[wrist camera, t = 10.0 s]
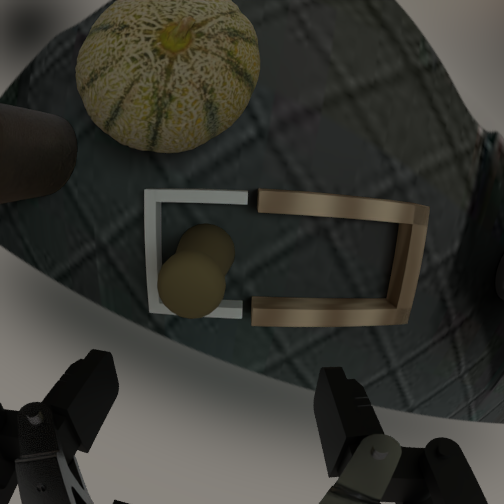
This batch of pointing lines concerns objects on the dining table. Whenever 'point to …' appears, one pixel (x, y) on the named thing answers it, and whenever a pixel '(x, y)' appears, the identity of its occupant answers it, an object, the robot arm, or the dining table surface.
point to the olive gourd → (196, 272)
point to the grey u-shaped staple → (154, 242)
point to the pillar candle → (34, 153)
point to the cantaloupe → (168, 71)
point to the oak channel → (349, 309)
